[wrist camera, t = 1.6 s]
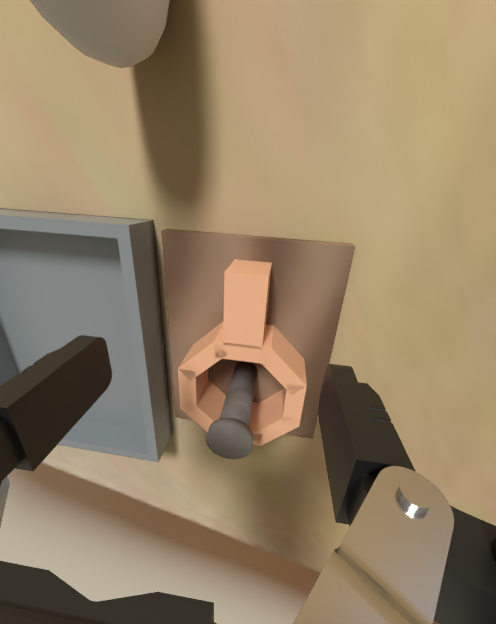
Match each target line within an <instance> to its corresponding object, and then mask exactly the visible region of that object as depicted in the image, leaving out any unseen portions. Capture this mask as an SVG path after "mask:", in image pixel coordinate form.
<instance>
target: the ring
mask: <svg viewBox="0 0 496 624" xmlns="http://www.w3.org/2000/svg"><path fill="white" fill-rule="evenodd" d="M271 268H272V263H270V262H259V261H247V260H236V259H235V260H234V261H233V262H232V263H231V265H230V266H229V267H228V268H227V270H226V271H225V272H224V321H223V322H222V323H220V324H219V325H218V326H216V327H215V328H214V329H213V330H211V331H210V332H209V333H207V334H206V335H205V336H204V337H202V338H201V339H200V340H199V341H197V342H196V343H195V344H193V345H192V347H191V348H190V350H189V352H188V353H187V355H186V356H185V358H184V360H183V361H182V363H181V364H180V366H179V368H178V379H179V395H180V409H181V410H182V411H184V412H185V413H186V414H187V415H188V416H189V417H190V418H191V419H193V420H194V421H195V422H196V423H197V424H198V425H199V426H200V427H202V428H203V429H204V430H205V431H206V432H208V429H209V427H210V425H211V424H212V423H213V422H214V421H216V420H218V419H219V418H220V415H221V411H222V408H223V405H224V401H225V398H226V395H225V394H224V393H223V392H222V391H221V390H220V389H218V388H217V387H216V386H215V385H214V384H213V383H212V382H211V381H210V380H209V379H208V368H209V367H211V366H212V365H214V364H215V363H216V362H218V361H219V360H221V359H230V360H238V361H245V362H253V363H261V364H262V365H263V366H264V367H265V368H266V369H267V370H268V371H269V372H270V373H271V374H272V375H273V376H274V377H275V378H276V379H277V380H278V381H279V382H280V383H281V384H282V385H283V389H282V390H281V391H279V392H277V393H275V394H274V395H272V396H270V397H268V398H267V399H265V400H263V401H262V402H260V403H256V402H252V408H251V414H250V420H249V425H248V427H249V428H250V429H251V431H252V433H253V445H257V446H262V445H264V444H265V443H267V442H269V441H271V440H273V439H275V438H277V437H279V436H281V435H283V434H285V433H287V432H289V431H291V430H293V429H295V428H297V427H299V425H300V420H301V414H302V409H303V404H304V398H305V393H306V388H307V382H306V372H305V361H304V358H303V357H302V356H301V355H300V354H299V353H298V352H297V351H296V349H295V348H294V347H293V346H292V345H291V344H290V343H289V342H288V341H287V339H286V338H285V337H284V336H283V335H282V334H281V333H280V332H279V331H278V329H277V328H276V327H275V326H274V325H266V320H267V310H268V299H269V289H270V278H271Z"/></svg>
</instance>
